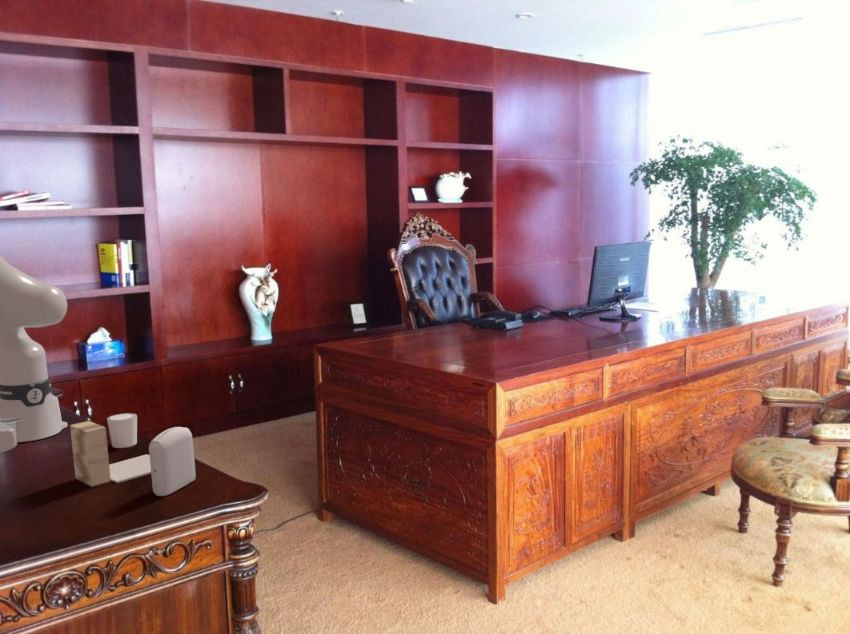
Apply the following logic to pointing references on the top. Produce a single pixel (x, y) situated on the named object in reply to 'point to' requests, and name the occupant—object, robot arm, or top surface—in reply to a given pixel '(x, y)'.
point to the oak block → (90, 453)
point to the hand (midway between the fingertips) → (22, 422)
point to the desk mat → (130, 468)
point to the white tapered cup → (123, 430)
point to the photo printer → (172, 460)
